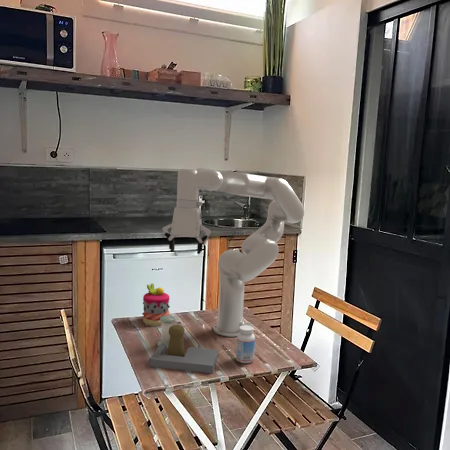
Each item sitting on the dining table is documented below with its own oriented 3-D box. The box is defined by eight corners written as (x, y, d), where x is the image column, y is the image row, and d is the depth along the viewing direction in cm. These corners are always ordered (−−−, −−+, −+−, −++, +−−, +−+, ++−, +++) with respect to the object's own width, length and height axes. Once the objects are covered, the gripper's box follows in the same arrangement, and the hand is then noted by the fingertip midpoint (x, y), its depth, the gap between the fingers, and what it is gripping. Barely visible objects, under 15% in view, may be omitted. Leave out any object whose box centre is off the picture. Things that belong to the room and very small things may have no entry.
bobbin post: (177, 342, 164) (178, 315, 162) (173, 349, 158) (174, 322, 156) (160, 340, 165) (161, 314, 163) (155, 348, 158) (156, 320, 157)
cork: (181, 362, 148) (182, 330, 147) (163, 360, 149) (164, 328, 148) (187, 355, 154) (188, 323, 152) (169, 352, 155) (170, 321, 154)
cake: (171, 318, 188) (172, 282, 185) (165, 327, 177) (166, 290, 175) (146, 316, 189) (147, 280, 186) (139, 325, 178) (139, 288, 176)
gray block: (218, 356, 154) (218, 349, 154) (212, 373, 142) (212, 365, 142) (160, 350, 156) (160, 343, 156) (150, 366, 144) (150, 359, 144)
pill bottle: (255, 357, 155) (257, 326, 153) (250, 365, 149) (253, 332, 147) (238, 354, 157) (240, 323, 155) (233, 361, 151) (235, 329, 149)
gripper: (213, 204, 163) (211, 252, 165) (166, 201, 165) (164, 248, 167) (210, 207, 155) (207, 256, 158) (160, 203, 157) (159, 252, 160)
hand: (185, 252), depth 163 cm, fingers open, 9 cm apart
